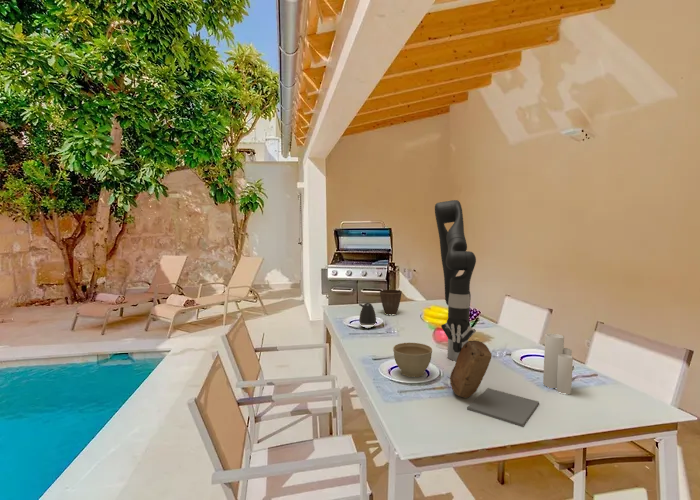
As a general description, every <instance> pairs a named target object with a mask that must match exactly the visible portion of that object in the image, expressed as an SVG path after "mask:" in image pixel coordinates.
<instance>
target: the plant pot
mask: <svg viewBox="0 0 700 500" xmlns="http://www.w3.org/2000/svg"><path fill="white" fill-rule="evenodd" d="M402 295H403V294H402V290H399V289H398V290H397V289H382V290H379V296H380V301H381V305H382V306H381V307H382V308H383V311H384V314H385V313H386V314H396V315H397V314H398V311H399V307H400V303H401V299H402ZM386 314H385V315H386Z"/></svg>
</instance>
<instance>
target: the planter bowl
mask: <svg viewBox="0 0 700 500" xmlns="http://www.w3.org/2000/svg"><path fill="white" fill-rule="evenodd" d="M392 350H393V357H394V361H395V363H396V366H397V367H398V368H399V370H400V373H401V375H403V376H405V377H409V378H420V377H422V376H424V374H425V371H426V370H427V369H428V368H429V366H430V364H431V360H432V353H433V348H432V347H431V346H430V345H427V344H425V343H421V342H420V343H419V342H402V343H397V344H395V345H394V346H393V348H392Z"/></svg>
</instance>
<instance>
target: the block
mask: <svg viewBox="0 0 700 500" xmlns="http://www.w3.org/2000/svg"><path fill="white" fill-rule="evenodd" d="M491 359H492V352H491V351H490V348H488V346H487V345H486V344H485V343H484V342H483V341H479V340H468V342H466V343H465V344H464V345H463V347H462V349H461V351H460V353H459V355H458V358H457V361H455V365H454V366H453V369H452V371H451V373H450V376H449V379H450V380H449V381H450V382H449V383H450V386H451V389H452V391H453V392H454V394H455V395H456V396H458V397H461V398H464V399H467V398H470V397H472V396H473V394H475V393H476V392H477V391H478V389H479V387H480V385H481V383H482V381H483V379H484V376H485V375H486V373H487V370H488V368H489V365H490V362H491Z"/></svg>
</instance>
